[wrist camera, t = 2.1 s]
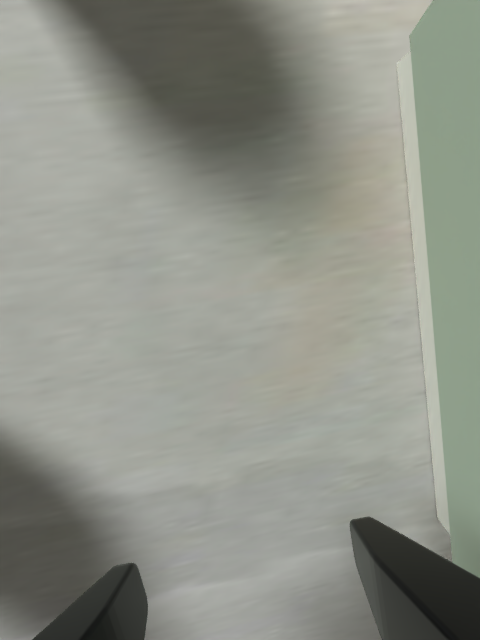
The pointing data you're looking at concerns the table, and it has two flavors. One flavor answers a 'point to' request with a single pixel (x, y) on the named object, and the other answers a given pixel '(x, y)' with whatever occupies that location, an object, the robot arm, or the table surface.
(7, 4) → the table surface
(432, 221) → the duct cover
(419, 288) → the cable duct
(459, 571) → the robot arm
